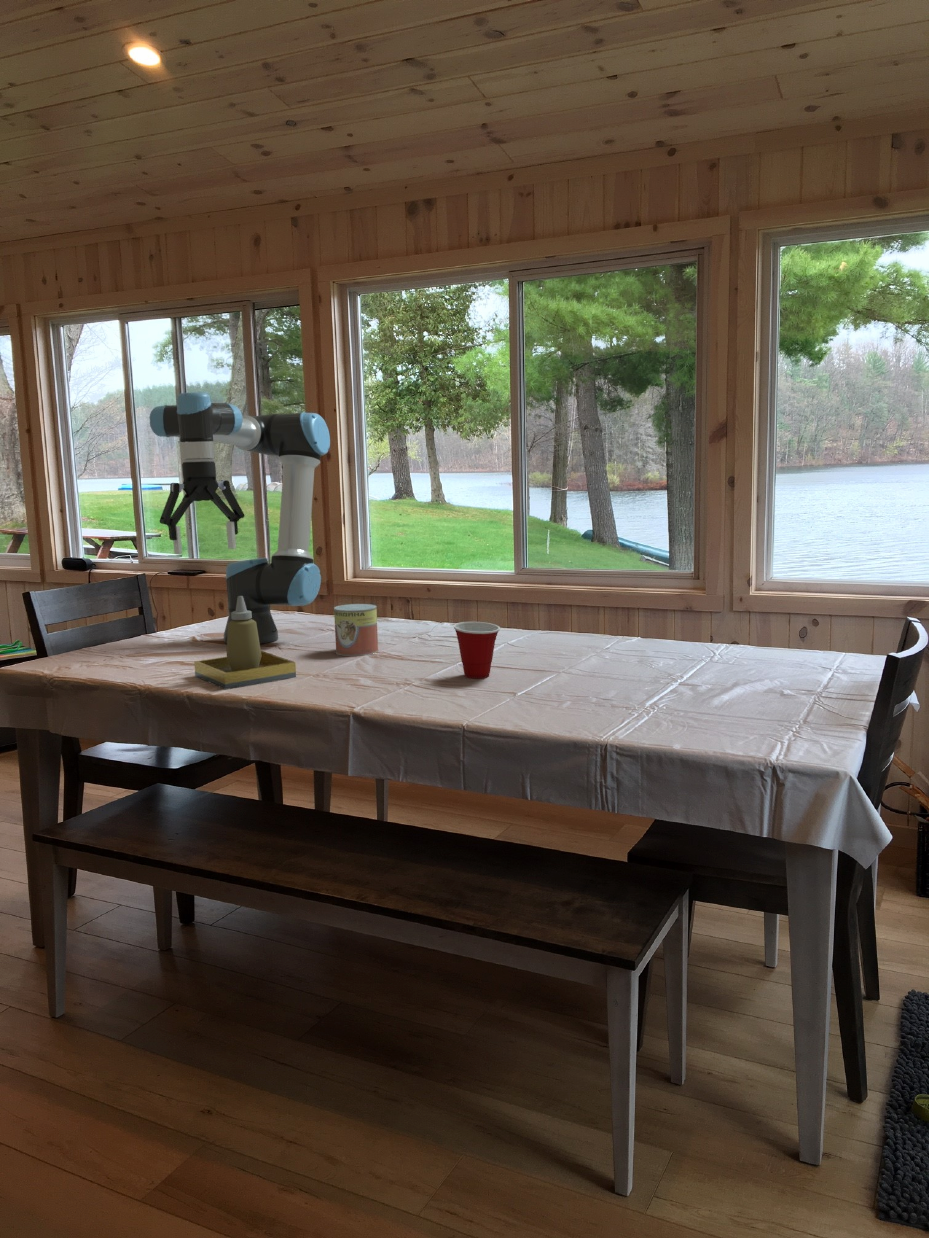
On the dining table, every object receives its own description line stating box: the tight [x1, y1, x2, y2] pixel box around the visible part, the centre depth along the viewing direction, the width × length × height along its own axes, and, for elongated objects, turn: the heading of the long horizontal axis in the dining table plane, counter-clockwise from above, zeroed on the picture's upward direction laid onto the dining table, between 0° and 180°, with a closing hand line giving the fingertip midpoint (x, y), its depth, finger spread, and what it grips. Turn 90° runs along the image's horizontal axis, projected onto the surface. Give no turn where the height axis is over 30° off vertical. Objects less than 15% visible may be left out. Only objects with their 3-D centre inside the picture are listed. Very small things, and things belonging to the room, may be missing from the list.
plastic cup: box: [453, 621, 501, 679], centre depth 215 cm, size 11×11×12 cm
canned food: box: [333, 603, 379, 657], centre depth 246 cm, size 11×11×12 cm
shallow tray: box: [193, 650, 297, 690], centre depth 220 cm, size 18×18×4 cm
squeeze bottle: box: [226, 596, 262, 672], centre depth 218 cm, size 8×8×18 cm
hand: (205, 551), depth 221 cm, fingers open, 13 cm apart
